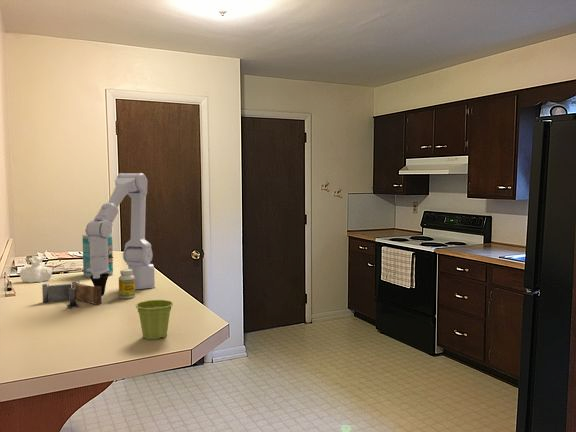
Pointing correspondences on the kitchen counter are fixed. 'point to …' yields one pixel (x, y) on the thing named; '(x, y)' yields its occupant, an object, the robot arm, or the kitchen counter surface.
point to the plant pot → (154, 318)
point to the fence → (57, 292)
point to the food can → (87, 256)
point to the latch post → (72, 299)
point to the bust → (35, 271)
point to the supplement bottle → (126, 284)
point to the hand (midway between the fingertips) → (100, 295)
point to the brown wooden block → (89, 293)
